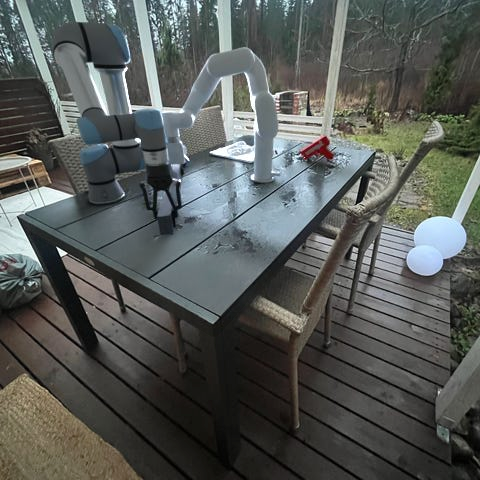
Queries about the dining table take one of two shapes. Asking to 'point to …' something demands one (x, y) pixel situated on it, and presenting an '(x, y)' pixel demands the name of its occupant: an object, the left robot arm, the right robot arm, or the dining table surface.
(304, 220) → the dining table surface
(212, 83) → the right robot arm
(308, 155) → the toy gun
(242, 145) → the relief map
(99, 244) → the dining table surface
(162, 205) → the bar
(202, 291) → the dining table surface
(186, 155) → the ink box
